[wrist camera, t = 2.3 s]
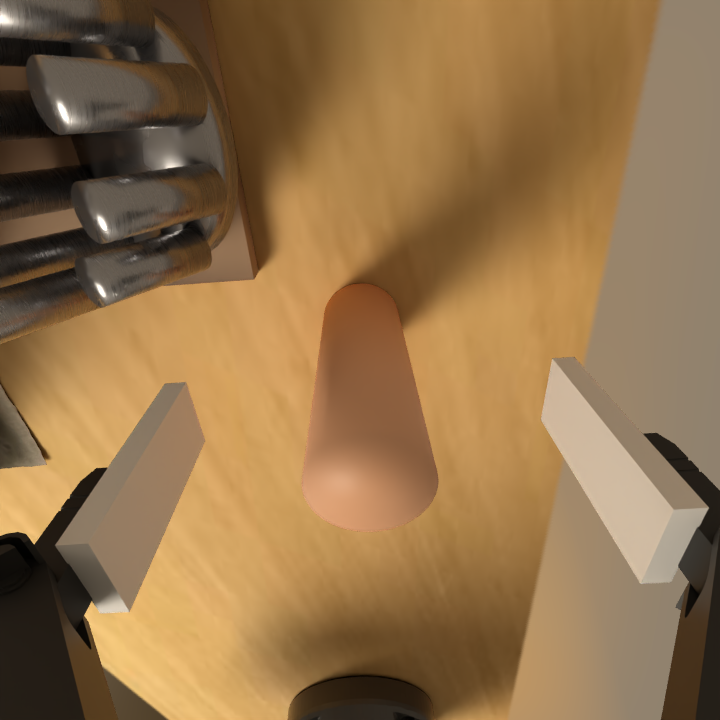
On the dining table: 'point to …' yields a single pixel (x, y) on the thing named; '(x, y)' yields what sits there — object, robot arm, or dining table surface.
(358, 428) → the peg
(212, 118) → the socket
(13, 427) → the condiment
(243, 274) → the socket base
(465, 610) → the dining table surface
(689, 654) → the robot arm
